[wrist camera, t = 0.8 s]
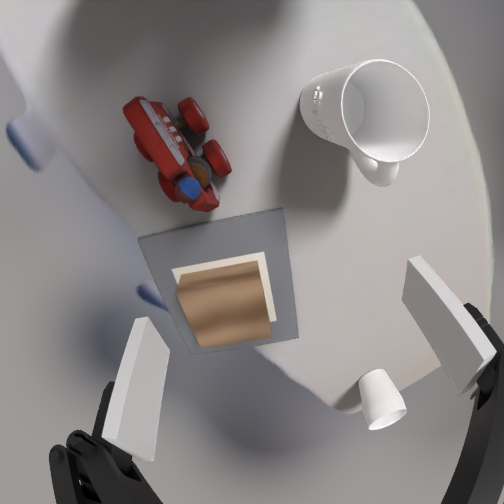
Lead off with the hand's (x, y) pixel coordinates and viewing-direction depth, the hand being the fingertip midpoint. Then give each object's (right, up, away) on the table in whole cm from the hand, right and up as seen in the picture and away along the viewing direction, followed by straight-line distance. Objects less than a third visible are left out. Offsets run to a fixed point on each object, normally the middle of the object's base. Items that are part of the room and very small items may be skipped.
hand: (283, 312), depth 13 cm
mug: (+8, +17, +14) cm, 24 cm away
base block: (-5, -3, +24) cm, 25 cm away
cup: (+25, -25, +40) cm, 54 cm away
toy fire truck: (-9, +14, +15) cm, 22 cm away
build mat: (-5, -3, +25) cm, 25 cm away
